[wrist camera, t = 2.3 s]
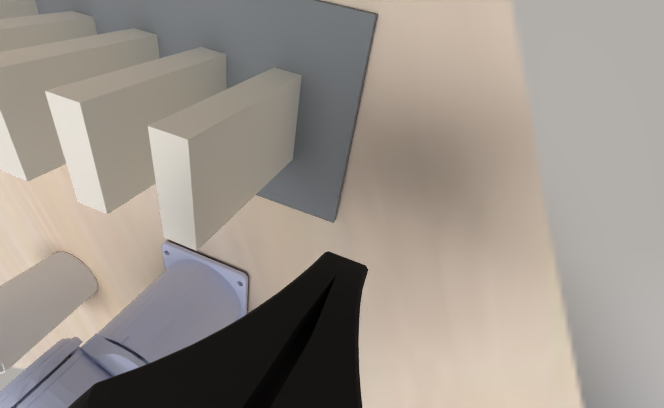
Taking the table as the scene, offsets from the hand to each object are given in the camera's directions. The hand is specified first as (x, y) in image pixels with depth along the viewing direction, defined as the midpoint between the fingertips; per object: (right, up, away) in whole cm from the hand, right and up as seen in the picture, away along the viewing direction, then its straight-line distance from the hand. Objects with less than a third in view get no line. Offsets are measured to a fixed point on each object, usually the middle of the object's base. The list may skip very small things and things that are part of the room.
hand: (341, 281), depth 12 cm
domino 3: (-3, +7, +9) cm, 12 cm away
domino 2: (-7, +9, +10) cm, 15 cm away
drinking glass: (-28, -5, +29) cm, 40 cm away
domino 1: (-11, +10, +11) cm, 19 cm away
